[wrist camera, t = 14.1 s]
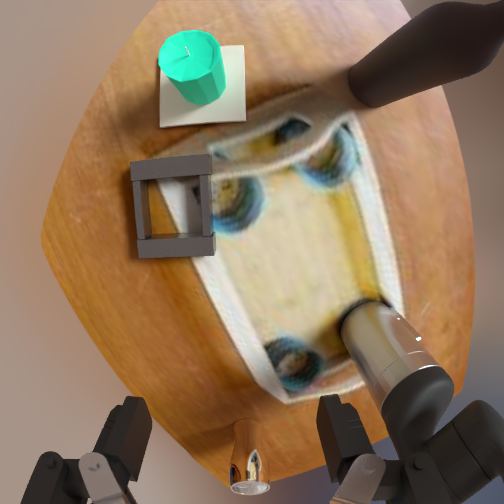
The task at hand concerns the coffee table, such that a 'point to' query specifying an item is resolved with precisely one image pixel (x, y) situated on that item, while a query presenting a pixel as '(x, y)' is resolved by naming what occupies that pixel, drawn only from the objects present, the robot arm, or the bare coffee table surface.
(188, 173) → the holder collar
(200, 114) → the coaster
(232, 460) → the beer glass
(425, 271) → the coffee table surface
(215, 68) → the candle
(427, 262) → the coffee table surface
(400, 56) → the wine bottle
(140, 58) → the coffee table surface
